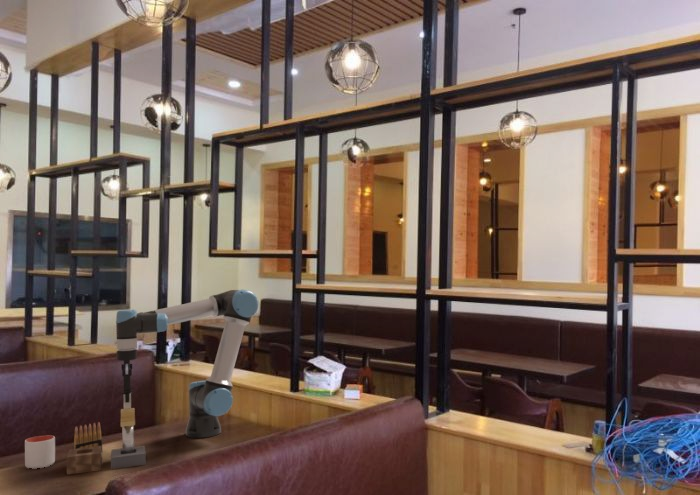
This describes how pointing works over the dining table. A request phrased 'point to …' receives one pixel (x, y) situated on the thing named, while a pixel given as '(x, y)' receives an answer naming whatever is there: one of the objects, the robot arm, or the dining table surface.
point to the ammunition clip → (87, 437)
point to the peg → (128, 439)
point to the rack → (84, 460)
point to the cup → (39, 451)
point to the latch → (127, 417)
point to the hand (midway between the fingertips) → (127, 410)
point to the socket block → (128, 458)
